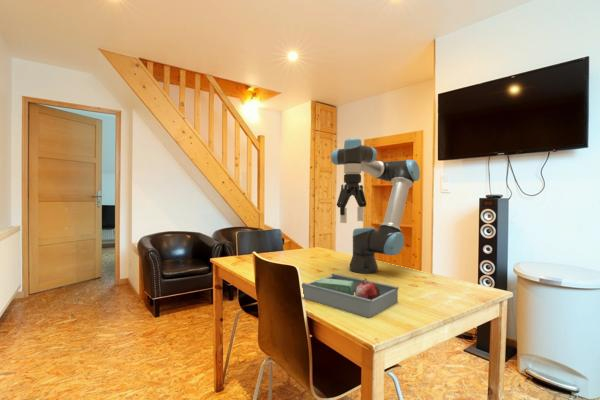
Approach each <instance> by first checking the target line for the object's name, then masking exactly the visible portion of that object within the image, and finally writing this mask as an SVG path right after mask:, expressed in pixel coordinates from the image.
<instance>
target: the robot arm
mask: <svg viewBox="0 0 600 400" xmlns="http://www.w3.org/2000/svg"><path fill="white" fill-rule="evenodd" d="M377 157H378V152H377V150H376V148H374V147H372V146H367V145H363V143H362V140H361V138H358V137H354V138H353V137H352V138H347V139H345V140H344V143H343V148H339V149H335V150H333V151H332V152H331V154H330V159H331V163H333V165H335V166H336V165H338V166H340V165H343V173H344V175H343V183H345V184H341V187H340V192H339V196H338V199H337V201H336V206H337V208H339V215H340V216H339V219H340V221H339V222H340V223H341V224H347V223H348V222H347V221H348V220H347V219H348V218H347V216H348V214H347V210H348V208H347V205H348V203H349V201H350V198H351V197H352V196H353V197H354V199H355V202H356V203H357V207H356V208H357V209H356V210H357V211H356V213H357V216H356V217H357V219H356V220H357V222H364V208H365V207H367V201H366V195H365V194H364V193H365V192H364V186H363V184H361V185H360V183H362V175H361V173H362V172H363V173H366V174H369V175H370V176H371V177H372V178H375V179H378V180H381V181H384V182H390V183H392V188H391V192H390V195H389V199H388V202H387V206H386V210H385V213H384V217H383V222H382V223H381V224H379V226H378V229H377V230H376V228H375V227H374V226H371V227H370V226H369V227H358V228H354V229H353V231H352V256H351V259H350V263H349V268H348V269H349V271H350V272H353V273H359V274H374V273H377V272H379V267H378V262H377V260H376V256H375V254H380V255H386V256H396V255H398V254H399V253H400V252H401V251H402V250H403V248H404V245H405V237H404V234H403V232H402V229H401V228H400V227H401V223H402V219H403V214H404V211H405V208H406V207H405V206H406V203H407V199H408V196H409V195H408V194H409V191H410V188H412V187H413V186H414V182H417V181H419V180H420V177H421V169H420V166H419V164H418V162H417V161H416V160H415V159H404V160H391V161H390V160H389V161H381V160H377V159H378V158H377Z"/></svg>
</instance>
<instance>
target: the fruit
mask: <svg viewBox="0 0 600 400" xmlns="http://www.w3.org/2000/svg"><path fill="white" fill-rule="evenodd" d="M362 280H363V281H362V284H360V285H359V286H357V288H356V292H354V296H358V297H362V298H366V299H370V300H373V299H375V298H377V297H379V296H380V291H379V288H378V287H377V286H376V285H375V284H374V283H371V282H367V281H368V280H367V279H366V278H364V279H362ZM364 280H365V281H364Z"/></svg>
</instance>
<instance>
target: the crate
mask: <svg viewBox="0 0 600 400" xmlns="http://www.w3.org/2000/svg"><path fill="white" fill-rule="evenodd" d="M325 278H327V279H337V280H346V281H353V282H354V293H355V292H356V288H357V286H359V285H360V284H362V281H363V280H364V281H365V279H360V278H356V277H354V276H353V277H352V276H346V275H342V274H338V273H331V275H329V276H327V277H325ZM318 280H319V279H318ZM318 280H315V281H311V282H308V283H306V282H301V283H302V285H301V289H302V288H303V294H304V298H303V299H304V300H305V299H306V300H309V301H312V302H315V303H318V304H320V305H325V306H328V307H331V308H335V309H339V310H341V311H345V312H348V313H352V314H355V315H359V316H362V317H365V318H367V319H370V318H372V317H374V316H376V315H377V314H379V313H381V312H383V311H385V310H386V309H388V308H390V307H391V306H393V305H395V304H397V303H398V301H399V299H398V297H399V293H398V292H399V291H398V290H399V287H398V286H395V285H389V284H385V283H380V282H375V281H371V280H367V282H371V283H374V284H375V285H376V286H377V287H378V288H379V291H380V296H379V297H377V298H375V299H373V300H370V299H366V298H362V297H358V296H355V294H354V295H350V294H346V293H342V292H338V291H334V290H330V289H327V288H323V287H319V286H317V281H318Z"/></svg>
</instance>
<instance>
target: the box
mask: <svg viewBox="0 0 600 400" xmlns="http://www.w3.org/2000/svg"><path fill="white" fill-rule="evenodd" d="M316 281H317V280H316ZM317 286H319V287H323V288H327V289H330V290H334V291H338V292H342V293H346V294H350V295H354V296H355V292H354V282H353V281H346V280H337V279H327V278H326V277H321V278H319V279H318V281H317Z"/></svg>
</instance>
